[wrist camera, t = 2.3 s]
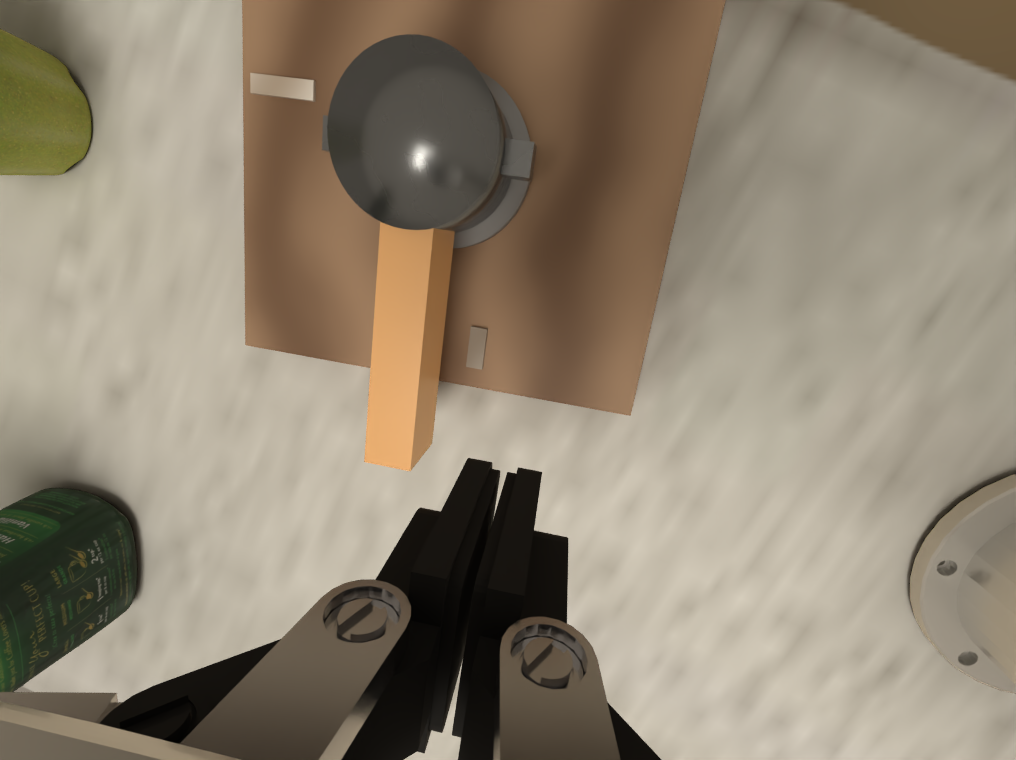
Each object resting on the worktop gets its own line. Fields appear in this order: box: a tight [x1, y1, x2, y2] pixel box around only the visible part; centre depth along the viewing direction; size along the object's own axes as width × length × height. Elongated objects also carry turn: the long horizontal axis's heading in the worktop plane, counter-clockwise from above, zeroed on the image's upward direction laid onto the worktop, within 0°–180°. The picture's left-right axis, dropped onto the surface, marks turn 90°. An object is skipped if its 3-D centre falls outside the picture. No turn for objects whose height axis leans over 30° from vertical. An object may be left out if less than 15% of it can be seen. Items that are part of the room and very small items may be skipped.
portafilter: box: [322, 34, 537, 471], centre depth 19 cm, size 8×16×4 cm, turn 172°
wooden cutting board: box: [242, 0, 725, 415], centre depth 22 cm, size 20×20×3 cm
